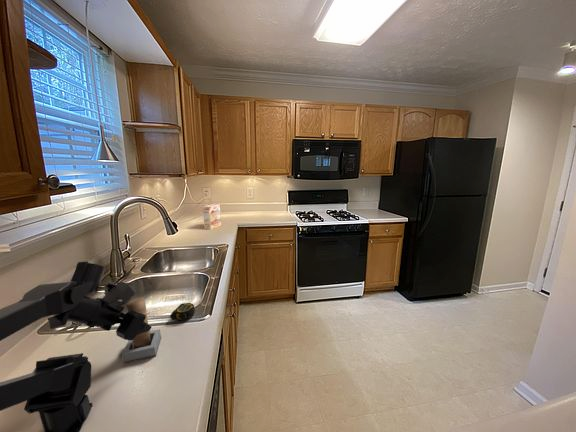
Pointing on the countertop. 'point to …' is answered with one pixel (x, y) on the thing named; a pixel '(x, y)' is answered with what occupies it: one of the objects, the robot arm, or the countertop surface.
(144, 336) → the peg
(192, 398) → the countertop surface
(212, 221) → the coffeecake box
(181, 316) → the tape measure
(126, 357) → the pocket block
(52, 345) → the countertop surface
